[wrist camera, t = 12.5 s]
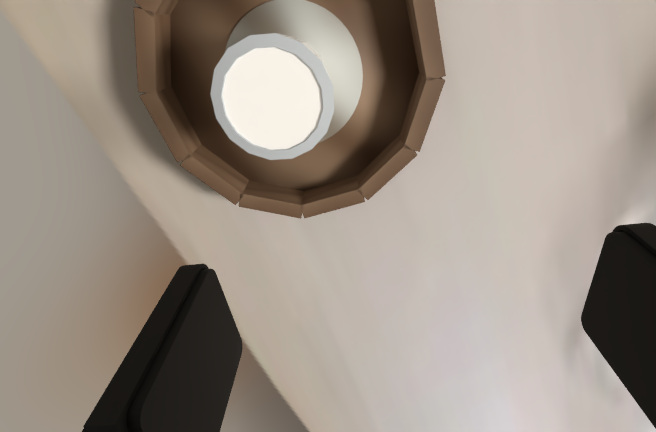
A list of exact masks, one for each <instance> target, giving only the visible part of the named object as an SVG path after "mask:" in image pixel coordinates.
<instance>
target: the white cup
mask: <svg viewBox="0 0 656 432" xmlns="http://www.w3.org/2000/svg"><path fill="white" fill-rule="evenodd" d="M210 94H211V99H212V103H213V107H214V112H215V116H216V119H217V121H218V122H219V124H220V125H221V127H222V128H223V130H224V131H225V133H226V134H227V136H228V137H229V139H230V140H232V141H233V142H234V143H236V144H237V145H238V146H240V147H241V148H242V149H244V150H245V151H246V152H248V153H249V154H253V155H256V156H259V157H262V158H265V159H269V160H278V159H293V158H295V157H297V156H299V155H301V154H303V153H305V152H307V151H309V150H311V149H313V148H314V146H315V145H316V144H317V143H318V142H319V141H320V140H321V139H322V137H323V136H324V135H325V134H326V133H327V131H328V128H329V125H330V122H331V119H332V116H333V113H334V95H333V84H332V82H331V80H330V78H329V75H328V73H327V71H326V69H325V67H324V64H323V62H322V60H321V58H320V56H319V54H318V53H317V52H316V51H315V50H314V49H313V48H312V47H311V46H310V45H309V44H308V43H307V42H305V41H302V40H299V39H297V38H294V37H291V36H287V35H282V34H278V33H271V34H258V35H249V36H248V37H246V38H244V39H243V40H241V41H239V42H238V43H236V44H234V45H233V46H231V47H229V48H228V49H227V51H226V52H225V54H224V55H223V57H222V58H221V60H220V61H219V63H218V64H217V66H216V67H215V69H214V74H213V81H212V87H211V93H210Z"/></svg>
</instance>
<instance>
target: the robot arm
mask: <svg viewBox="0 0 656 432" xmlns="http://www.w3.org/2000/svg"><path fill="white" fill-rule="evenodd" d="M581 322H582V326H583V328H584V330H585V332H586V333H587V335H588V336H589V337H590V339H591V340H592V341H593V343H594V344H595V346H596V347H597V348H598V350H599V351H600V352H601V354H602V355H603V357H604V358H605V359H606V361H607V362H608V364H609V365H610V366H611V368H612V369H613V370H614V372H615V373H616V375H617V376H618V377H619V379H620V380H621V381H622V383H623V384H624V386H625V387H626V388H627V390H628V391H629V392H630V394H631V395H632V397H633V398H634V399H635V401H636V402H637V403H638V405H639V406H640V408H641V409H642V410H643V412H644V413H645V414H646V416H647V417H648V419H649V420H650V421H651V423H652V424H653V425H654V427H655V428H656V226H655V225H653V224H651V223H640V224H629V225H620V226H617V227H616V228H615V229H614V230H613V232H612V233H609V234H608V235H607V236H606V238H605V241H604V244H603V247H602V251H601V254H600V257H599V260H598V263H597V267H596V270H595V273H594V276H593V280H592V283H591V286H590V289H589V293H588V296H587V299H586V302H585V305H584V309H583V312H582V316H581ZM241 353H242V340H241V337H240V334H239V332H238V329H237V327H236V324H235V321H234V319H233V316H232V314H231V311H230V309H229V306H228V303H227V301H226V298H225V296H224V293H223V291H222V288H221V285H220V283H219V280H218V278H217V275H216V273H215V271H214V270H213V269H209V268H208V267H207V266H206V265H205V264H196V265H185V266H181V267H180V268H179V269H178V271H177V272H176V274H175V276H174V277H173V279H172V281H171V282H170V284H169V285H168V287H167V289H166V291H165V292H164V294H163V295H162V297H161V299H160V300H159V302H158V304H157V305H156V307H155V309H154V311H153V312H152V314H151V315H150V317H149V319H148V320H147V322H146V324H145V325H144V327H143V329H142V330H141V332H140V334H139V335H138V337H137V338H136V340H135V342H134V343H133V345H132V347H131V349H130V350H129V352H128V353H127V355H126V357H125V358H124V360H123V362H122V364H121V365H120V367H119V368H118V370H117V372H116V373H115V375H114V377H113V378H112V380H111V382H110V383H109V385H108V387H107V388H106V390H105V392H104V393H103V395H102V397H101V398H100V400H99V402H98V403H97V405H96V406H95V408H94V410H93V412H92V413H91V415H90V417H89V418H88V420H87V421H86V423H85V425H84V429H83V431H82V432H220V428H221V425H222V421H223V418H224V414H225V410H226V407H227V403H228V400H229V396H230V393H231V389H232V386H233V382H234V378H235V375H236V371H237V368H238V365H239V361H240V358H241Z"/></svg>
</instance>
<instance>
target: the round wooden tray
mask: <svg viewBox="0 0 656 432" xmlns="http://www.w3.org/2000/svg"><path fill="white" fill-rule="evenodd" d="M135 3H136V4H138V5H139V6H140V7H134V22H135V41H136V60H137V79H138V91H139V92H144V93H145V94H142V95H140V97H141V99H142V101H143V103H144V105H145V106H146V108H147V110H148V112H149V113H150V115H151V117H152V119H153V120H154V122H155V124H156V126H157V127H158V129H159V131H160V133H161V135H162V136H163V138H164V140H165V142H166V143H167V145H168V147H169V149H170V150H171V152H172V154H173V156H174V157H175V159H176V161H177V162H179V161H182V160H183V162H182V163H181V164H180V166H182V167H183V168H185V169H186V170H187V171H189V172H190V173H192V174H193V175H194V176H196V177H197V178H199V179H200V180H201V181H203V182H204V183H205V184H207V185H208V186H210V187H211V188H212V189H214V190H215V191H217V192H218V193H219V194H221V195H222V196H224V197H225V198H226V199H228V200H229V201H230V202H232V203H233V204H235V205H236V204H237V203H238V201H239V207H244V208H249V209H255V210H260V211H265V212H270V213H275V214H281V215H286V216H291V217H296V218H301V216H302V213H303V216H304V218H307V217H311V216H315V215H318V214H322V213H326V212H329V211H333V210H337V209H340V208H344V207H348V206H351V205H355V204H359V203H362V202H365V200H364V197H365V198H366V199H367V200H369V199H370V198H371V197H372V196H373V195H374V194H375V193H376V192H377V191H379V190H380V189H381V188H382V187H383V186H384V185H385V184H386V183H387V182H388V181H389V180H391V179H392V178H393V177H394V176H395V175H396V174H397V173H398V172H399V171H400V170H402V169H403V168H404V167H405V166H406V165H407V164H408V163H409V162H410V161H411V160H412V159H414V158H415V157H416V156H417V154H416V152H415V151H418V152H420V149H421V146H422V143H423V141H424V138H425V135H426V132H427V130H428V127H429V124H430V121H431V118H432V116H433V113H434V110H435V107H436V105H437V102H438V99H439V96H440V93H441V91H442V88H443V85H444V82H445V80H444V79H442V78H441V77H443V76H446V74H445V68H444V61H443V55H442V48H441V41H440V35H439V28H438V22H437V15H436V8H435V2H434V0H136V1H135ZM271 33H278V34H282V35H287V36H291V37H294V38H297V39H299V40H302V41H305V42H307V43H308V44H309V45H310V46H311V47H312V48H313V49H314V50H315V51H316V52H317V53H318V54H319V56H320V58H321V60H322V62H323V64H324V67H325V69H326V71H327V73H328V75H329V78H330V80H331V82H332V84H333V95H334V113H333V116H332V119H331V122H330V125H329V128H328V131H327V133H326V134H325V135H324V136H323V137H322V139H321V140H320V141H319V142H318V143H317V144H316V145H315V146H314V148H313V149H311V150H309V151H307V152H305V153H303V154H301V155H299V156H297V157H295V158H293V159H278V160H269V159H265V158H262V157H259V156H256V155H253V154H249V153H248V152H246V151H245V150H244V149H242V148H241V147H240V146H238V145H237V144H236V143H234V142H233V141H232V140H230V139H229V137H228V136H227V134H226V133H225V131H224V130H223V128H222V127H221V125H220V124H219V122H218V121H217V119H216V116H215V112H214V107H213V103H212V99H211V94H210V93H211V87H212V81H213V74H214V69H215V67H216V66H217V64H218V63H219V61H220V60H221V58H222V57H223V55H224V54H225V52H226V51H227V49H228V48H229V47H231V46H233V45H234V44H236V43H238V42H239V41H241V40H243V39H244V38H246V37H248V36H249V35H258V34H271Z"/></svg>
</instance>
